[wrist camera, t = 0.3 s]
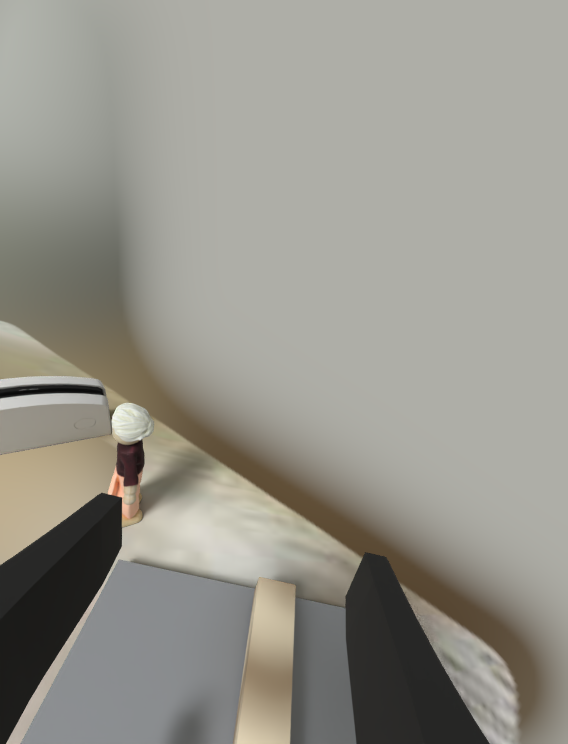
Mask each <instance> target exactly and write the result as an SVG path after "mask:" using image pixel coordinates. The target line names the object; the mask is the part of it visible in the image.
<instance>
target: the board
mask: <svg viewBox="0 0 568 744" xmlns="http://www.w3.org/2000/svg"><path fill="white" fill-rule="evenodd" d="M254 591H255V589H254V588H249V587H245V586H240V585H235V584H231V583H226V582H221V581H217V580H212V579H207V578H203V577H198V576H193V575H189V574H184V573H179V572H175V571H170V570H165V569H161V568H156V567H151V566H147V565H142V564H137V563H133V562H128V561H123V560H118V562H117V564H116V566H115V568H114V570H113V572H112V574H111V575H110V577H109V579H108V581H107V583H106V585H105V587H104V589H103V590H102V592H101V594H100V596H99V598H98V600H97V602H96V603H95V605H94V607H93V609H92V611H91V613H90V615H89V617H88V618H87V620H86V622H85V624H84V626H83V628H82V630H81V632H80V633H79V635H78V637H77V639H76V641H75V643H74V645H73V646H72V648H71V650H70V652H69V654H68V656H67V658H66V660H65V661H64V663H63V665H62V667H61V669H60V671H59V673H58V675H57V676H56V678H55V680H54V682H53V684H52V686H51V688H50V689H49V691H48V693H47V695H46V697H45V699H44V701H43V703H42V704H41V706H40V708H39V710H38V712H37V714H36V716H35V718H34V719H33V721H32V723H31V725H30V727H29V729H28V731H27V733H26V734H25V736H24V738H23V740H22V742H21V744H233V739H234V732H235V725H236V718H237V711H238V703H239V696H240V689H241V682H242V675H243V668H244V661H245V654H246V647H247V640H248V633H249V626H250V619H251V612H252V605H253V598H254ZM290 744H356V734H355V725H354V715H353V705H352V696H351V686H350V677H349V666H348V656H347V646H346V608H343V607H338V606H333V605H329V604H324V603H319V602H315V601H310V600H305V599H301V598H296V597H295V618H294V646H293V673H292V701H291V729H290Z"/></svg>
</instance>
